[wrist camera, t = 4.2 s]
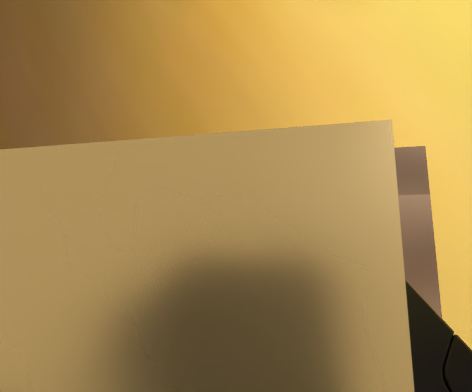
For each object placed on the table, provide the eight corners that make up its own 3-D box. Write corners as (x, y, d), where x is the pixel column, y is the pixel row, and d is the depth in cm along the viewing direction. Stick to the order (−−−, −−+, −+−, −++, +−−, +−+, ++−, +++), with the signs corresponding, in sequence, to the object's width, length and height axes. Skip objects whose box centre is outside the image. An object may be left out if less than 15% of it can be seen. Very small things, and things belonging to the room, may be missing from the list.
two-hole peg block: (434, 591, 12) (480, 709, 9) (28, 514, 15) (-36, 579, 12) (398, 165, 14) (424, 146, 11) (54, 182, 17) (5, 171, 14)
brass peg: (319, 317, 14) (444, 753, 2) (221, 313, 15) (-77, 606, 3) (315, 216, 14) (392, 120, 3) (221, 218, 15) (-26, 151, 4)
